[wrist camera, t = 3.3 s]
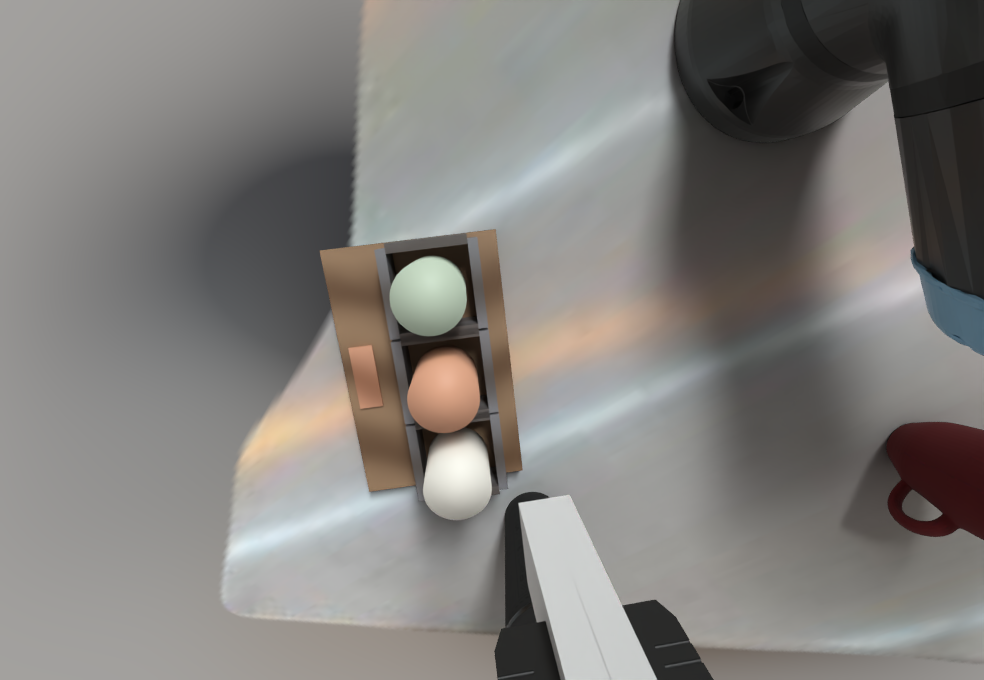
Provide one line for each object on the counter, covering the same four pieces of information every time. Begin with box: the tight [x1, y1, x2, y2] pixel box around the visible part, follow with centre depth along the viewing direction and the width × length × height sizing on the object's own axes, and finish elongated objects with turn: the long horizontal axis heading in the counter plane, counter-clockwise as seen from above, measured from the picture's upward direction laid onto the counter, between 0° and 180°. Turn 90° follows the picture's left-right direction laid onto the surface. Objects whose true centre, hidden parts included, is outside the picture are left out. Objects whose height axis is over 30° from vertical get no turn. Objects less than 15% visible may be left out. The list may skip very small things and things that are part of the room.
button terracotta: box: [407, 345, 480, 433], centre depth 31 cm, size 5×5×5 cm
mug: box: [886, 422, 984, 540], centre depth 37 cm, size 11×8×10 cm
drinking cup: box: [505, 492, 549, 628], centre depth 32 cm, size 8×8×20 cm
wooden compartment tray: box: [320, 229, 522, 501], centre depth 35 cm, size 20×13×4 cm, turn 7°
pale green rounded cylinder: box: [390, 255, 467, 336], centre depth 30 cm, size 5×5×5 cm
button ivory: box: [423, 427, 492, 520], centre depth 33 cm, size 5×5×5 cm
